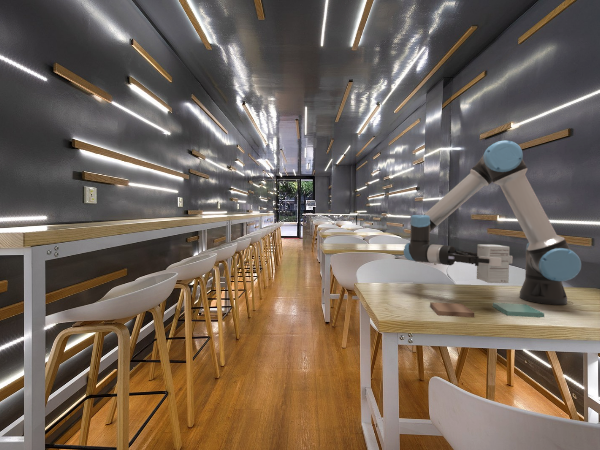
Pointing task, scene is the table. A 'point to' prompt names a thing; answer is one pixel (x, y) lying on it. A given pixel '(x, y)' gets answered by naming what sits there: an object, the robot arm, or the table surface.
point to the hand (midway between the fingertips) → (506, 261)
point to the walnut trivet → (451, 309)
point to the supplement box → (494, 272)
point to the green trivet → (517, 310)
